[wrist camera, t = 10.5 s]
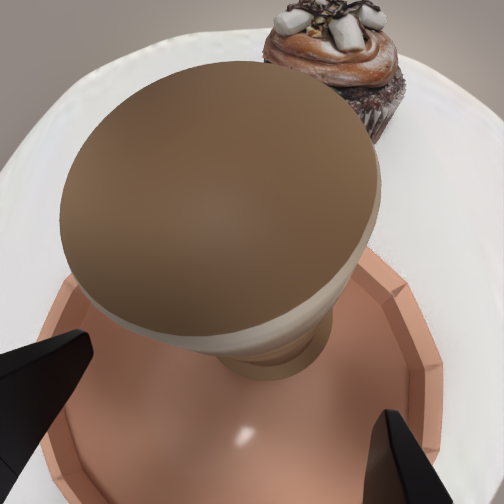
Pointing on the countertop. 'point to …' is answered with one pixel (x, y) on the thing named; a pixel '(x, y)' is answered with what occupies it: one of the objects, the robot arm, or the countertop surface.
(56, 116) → the countertop surface
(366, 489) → the robot arm
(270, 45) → the cupcake
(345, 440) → the tray
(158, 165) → the tan flared cylinder
